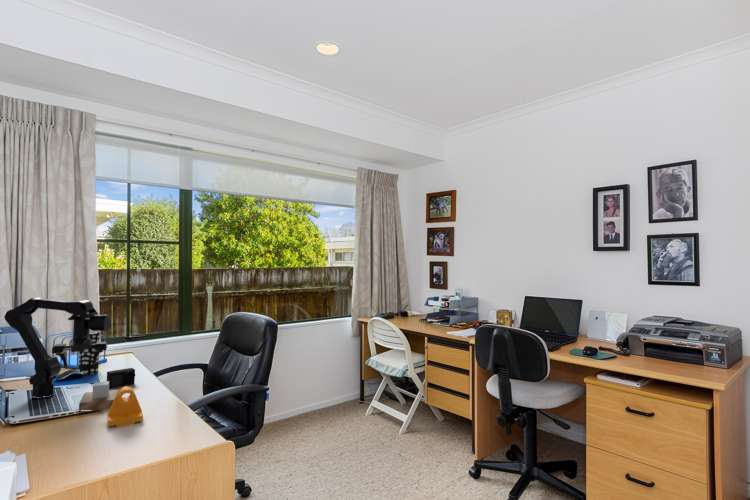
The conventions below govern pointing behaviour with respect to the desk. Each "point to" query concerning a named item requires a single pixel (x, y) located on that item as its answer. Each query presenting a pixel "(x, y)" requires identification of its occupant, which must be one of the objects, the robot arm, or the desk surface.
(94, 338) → the spotted tube
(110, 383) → the digital camera
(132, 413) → the bracket
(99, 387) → the slate cube
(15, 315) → the robot arm
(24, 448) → the desk surface
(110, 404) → the walnut block
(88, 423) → the desk surface
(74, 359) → the file sorter
